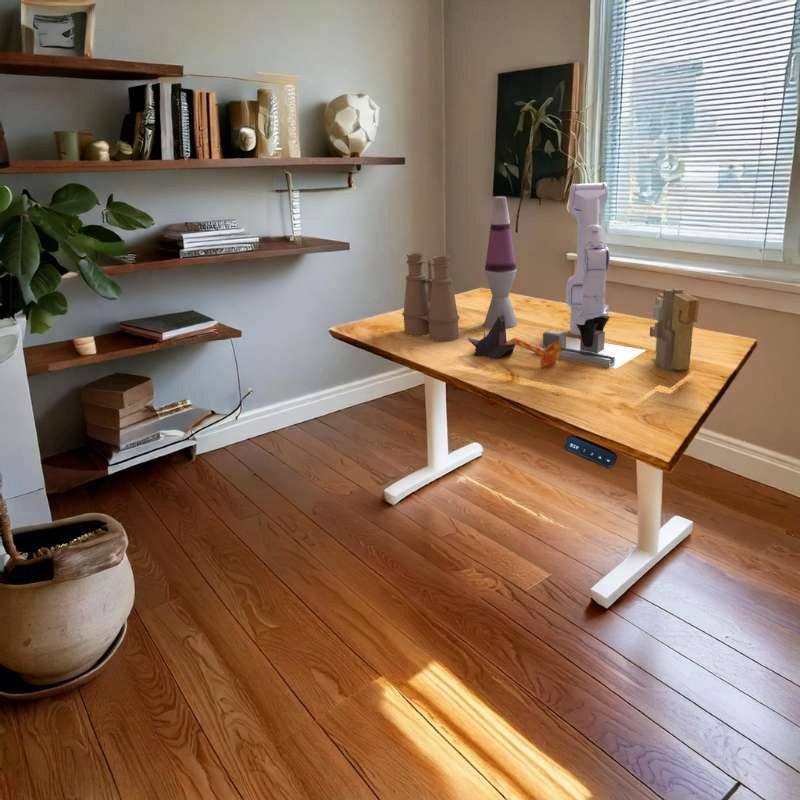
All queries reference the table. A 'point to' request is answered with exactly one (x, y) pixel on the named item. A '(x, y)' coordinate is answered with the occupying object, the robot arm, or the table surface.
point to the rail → (584, 356)
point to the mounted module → (554, 337)
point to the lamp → (500, 265)
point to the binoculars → (430, 300)
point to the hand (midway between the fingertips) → (591, 344)
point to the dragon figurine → (511, 345)
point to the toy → (674, 328)
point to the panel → (608, 351)
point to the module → (595, 343)
